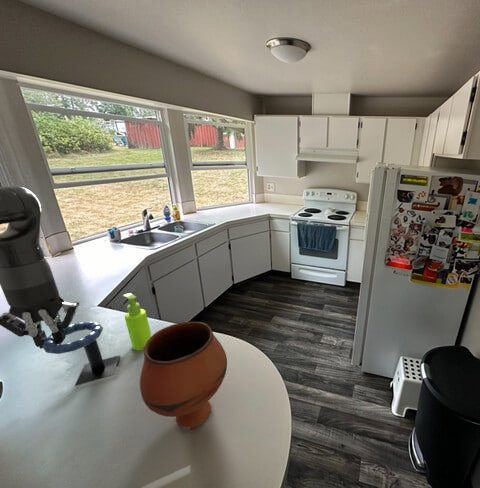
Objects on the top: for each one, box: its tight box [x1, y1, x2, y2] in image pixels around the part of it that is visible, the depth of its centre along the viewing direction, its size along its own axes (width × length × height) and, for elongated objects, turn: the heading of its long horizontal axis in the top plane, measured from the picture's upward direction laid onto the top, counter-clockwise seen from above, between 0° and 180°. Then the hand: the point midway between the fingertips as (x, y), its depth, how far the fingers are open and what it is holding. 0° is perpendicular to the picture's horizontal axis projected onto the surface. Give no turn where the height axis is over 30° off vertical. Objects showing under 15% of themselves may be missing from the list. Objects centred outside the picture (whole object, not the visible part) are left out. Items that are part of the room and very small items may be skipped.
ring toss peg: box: [74, 339, 121, 387], centre depth 77 cm, size 9×9×13 cm
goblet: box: [139, 321, 228, 430], centre depth 63 cm, size 19×19×25 cm
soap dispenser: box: [122, 292, 152, 351], centre depth 87 cm, size 6×7×20 cm
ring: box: [42, 321, 104, 355], centre depth 62 cm, size 10×10×2 cm
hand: (52, 344), depth 60 cm, fingers closed on ring, 2 cm apart
